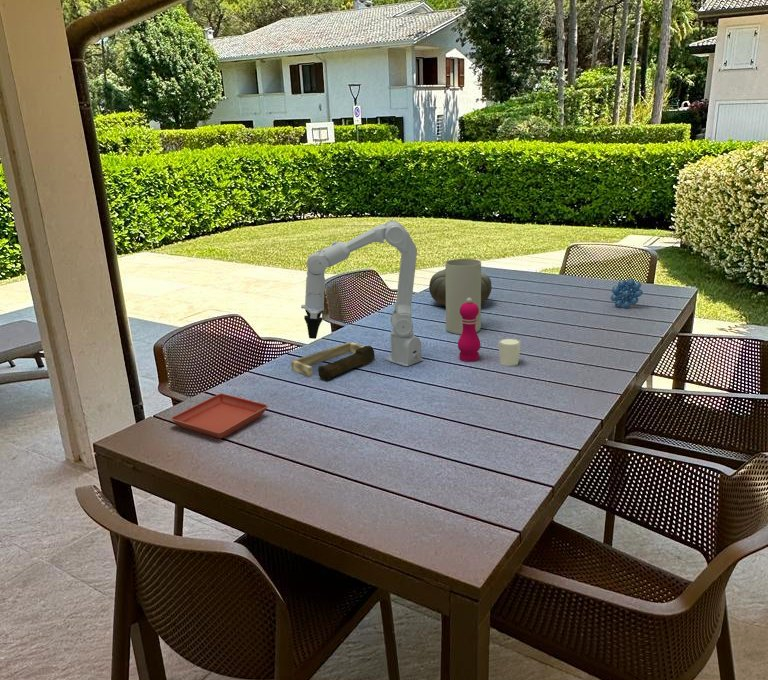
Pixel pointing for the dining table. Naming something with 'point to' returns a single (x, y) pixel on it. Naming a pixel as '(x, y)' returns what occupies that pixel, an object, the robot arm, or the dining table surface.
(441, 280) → the gourd
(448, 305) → the cylinder vase
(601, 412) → the dining table surface
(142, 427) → the dining table surface
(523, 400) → the dining table surface
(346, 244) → the robot arm
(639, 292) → the grapes
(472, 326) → the pepper mill
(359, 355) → the hand tool
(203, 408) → the plant saucer
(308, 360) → the beige bent bracket
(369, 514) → the dining table surface
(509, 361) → the cream cylinder
